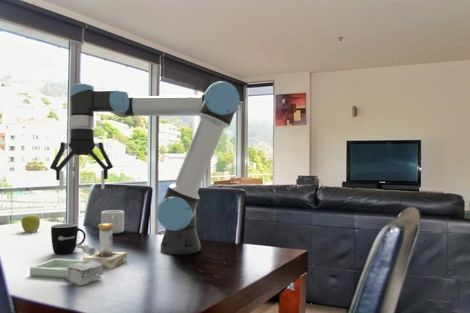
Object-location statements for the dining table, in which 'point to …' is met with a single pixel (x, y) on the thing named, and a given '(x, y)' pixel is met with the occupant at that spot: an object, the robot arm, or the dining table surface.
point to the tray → (52, 268)
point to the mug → (65, 238)
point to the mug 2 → (113, 219)
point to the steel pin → (105, 240)
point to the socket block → (109, 259)
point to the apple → (30, 223)
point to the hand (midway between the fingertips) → (82, 189)
